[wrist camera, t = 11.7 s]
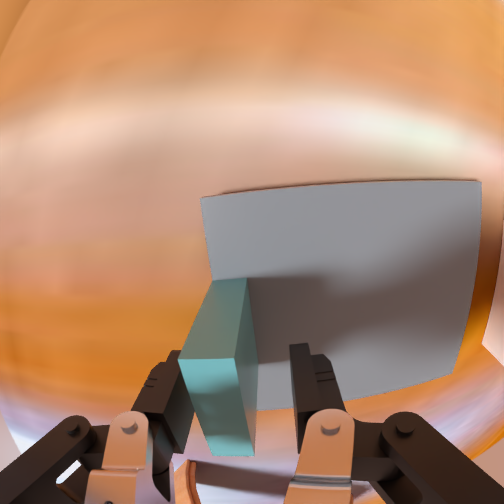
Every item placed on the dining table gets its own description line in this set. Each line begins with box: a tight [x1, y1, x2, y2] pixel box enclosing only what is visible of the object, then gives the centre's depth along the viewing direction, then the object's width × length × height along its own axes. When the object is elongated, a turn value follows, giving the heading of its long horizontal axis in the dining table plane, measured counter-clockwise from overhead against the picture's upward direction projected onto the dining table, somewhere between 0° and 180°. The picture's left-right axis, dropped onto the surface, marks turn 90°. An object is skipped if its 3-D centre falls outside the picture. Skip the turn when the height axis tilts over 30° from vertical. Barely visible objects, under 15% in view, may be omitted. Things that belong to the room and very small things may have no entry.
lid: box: [178, 180, 482, 456], centre depth 11 cm, size 15×13×8 cm
